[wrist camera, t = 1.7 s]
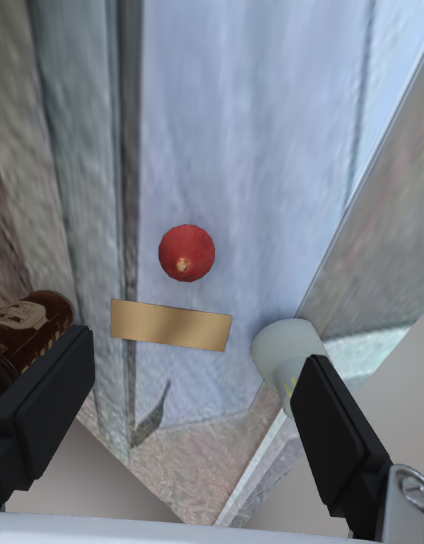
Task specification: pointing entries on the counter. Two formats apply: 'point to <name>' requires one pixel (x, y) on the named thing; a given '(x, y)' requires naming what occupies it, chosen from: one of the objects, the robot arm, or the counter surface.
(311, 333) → the air freshener
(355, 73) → the counter surface
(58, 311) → the coffee cup
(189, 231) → the onion
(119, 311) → the row strip
